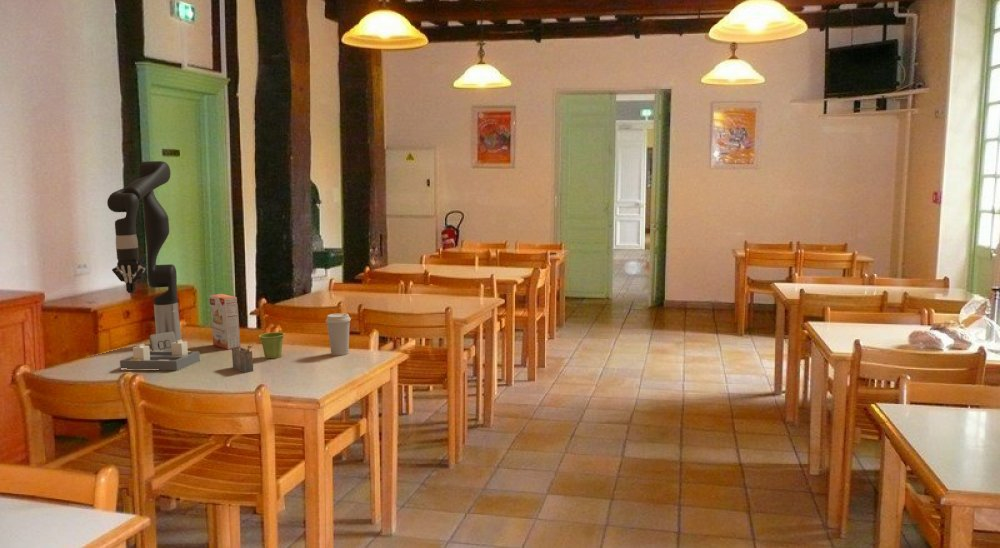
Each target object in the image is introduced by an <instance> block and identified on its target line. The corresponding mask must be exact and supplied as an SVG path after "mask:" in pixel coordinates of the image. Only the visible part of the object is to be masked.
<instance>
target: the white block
mask: <svg viewBox="0 0 1000 548" xmlns="http://www.w3.org/2000/svg"><path fill="white" fill-rule="evenodd" d="M171 346H172V355H188V351H189V350H188V341H187V340H186V341H183V339H182V338H181V339H180V340H177V341H176V342H174V343H171Z"/></svg>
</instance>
